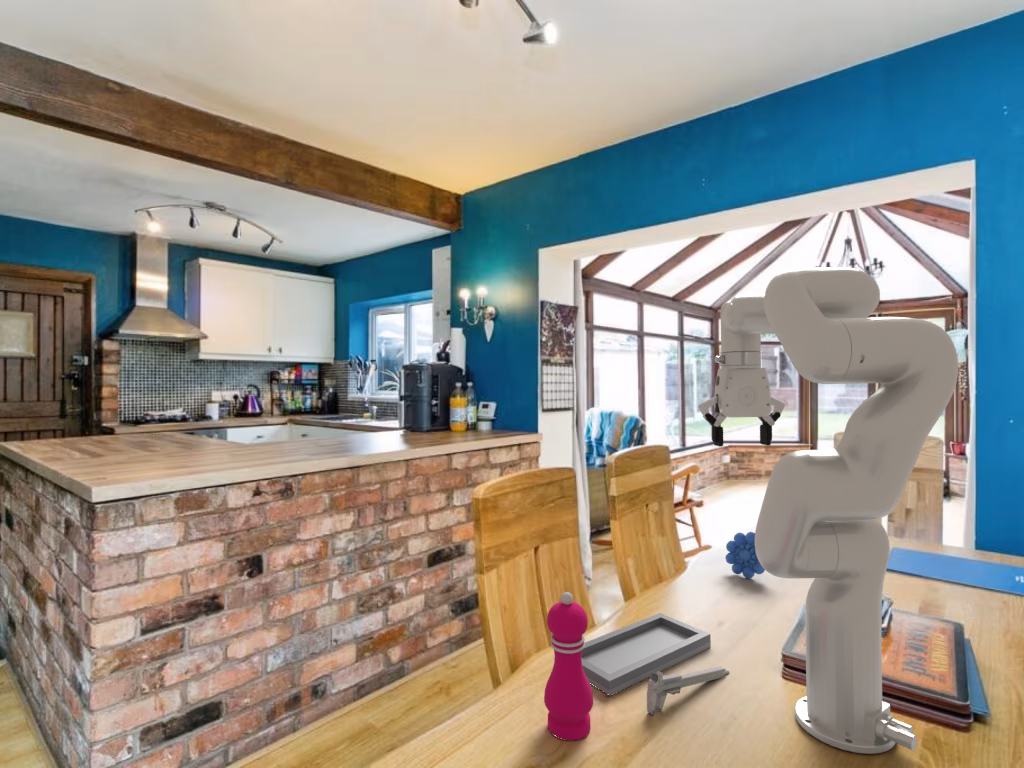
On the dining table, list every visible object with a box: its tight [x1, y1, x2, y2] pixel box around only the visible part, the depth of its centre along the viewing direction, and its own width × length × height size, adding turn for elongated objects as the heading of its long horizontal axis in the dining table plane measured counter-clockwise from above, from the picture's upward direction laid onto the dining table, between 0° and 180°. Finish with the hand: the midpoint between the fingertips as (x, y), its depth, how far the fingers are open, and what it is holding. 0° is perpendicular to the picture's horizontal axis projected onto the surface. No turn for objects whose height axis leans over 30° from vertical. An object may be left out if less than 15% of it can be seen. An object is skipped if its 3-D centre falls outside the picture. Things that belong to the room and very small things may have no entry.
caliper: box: [646, 665, 730, 716], centre depth 90 cm, size 20×1×6 cm, turn 126°
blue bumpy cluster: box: [725, 531, 766, 579], centre depth 141 cm, size 12×7×12 cm, turn 39°
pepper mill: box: [543, 591, 594, 741], centre depth 82 cm, size 7×7×20 cm
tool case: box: [581, 612, 712, 697], centre depth 102 cm, size 12×27×2 cm, turn 126°
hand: (742, 445), depth 113 cm, fingers open, 9 cm apart
